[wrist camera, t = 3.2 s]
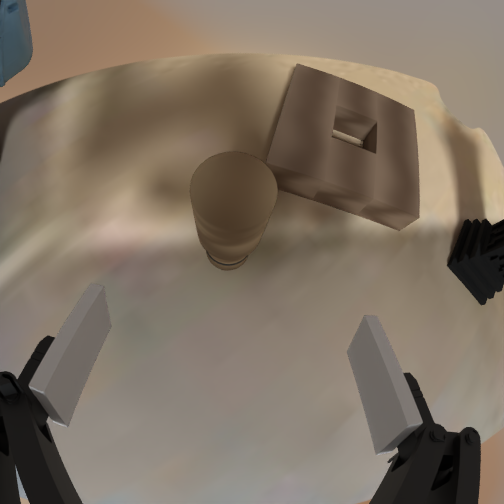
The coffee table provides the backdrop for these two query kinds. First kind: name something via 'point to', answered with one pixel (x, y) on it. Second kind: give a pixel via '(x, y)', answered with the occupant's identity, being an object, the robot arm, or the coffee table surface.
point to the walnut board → (347, 149)
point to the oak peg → (232, 206)
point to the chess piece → (480, 258)
